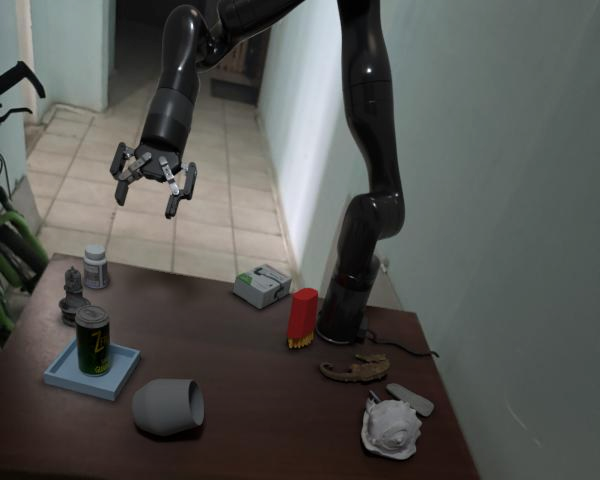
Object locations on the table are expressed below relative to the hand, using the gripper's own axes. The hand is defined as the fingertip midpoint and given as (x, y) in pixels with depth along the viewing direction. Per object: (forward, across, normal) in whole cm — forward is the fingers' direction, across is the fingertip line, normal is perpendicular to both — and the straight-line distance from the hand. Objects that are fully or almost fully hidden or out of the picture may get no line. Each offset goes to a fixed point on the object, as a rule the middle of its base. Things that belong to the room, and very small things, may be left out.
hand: (143, 211), depth 91 cm
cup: (+34, +9, -3) cm, 35 cm away
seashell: (+28, +51, +7) cm, 59 cm away
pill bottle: (+10, -14, +25) cm, 30 cm away
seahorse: (+14, +40, +14) cm, 44 cm away
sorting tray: (+29, -2, +6) cm, 30 cm away
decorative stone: (+17, +59, +18) cm, 64 cm away
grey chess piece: (+20, -12, +15) cm, 28 cm away
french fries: (+2, +32, +16) cm, 35 cm away
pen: (+27, +58, +8) cm, 65 cm away
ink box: (+2, +18, +29) cm, 34 cm away
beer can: (+29, -2, +6) cm, 29 cm away
